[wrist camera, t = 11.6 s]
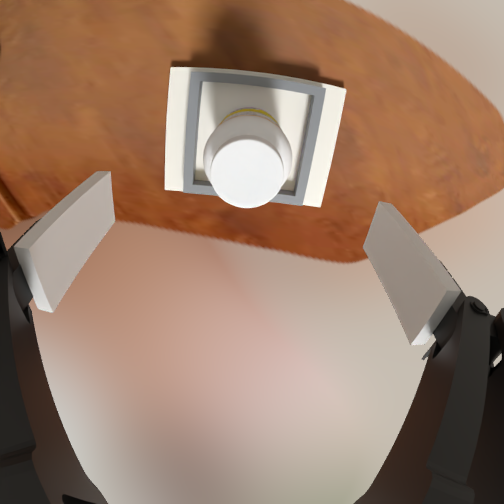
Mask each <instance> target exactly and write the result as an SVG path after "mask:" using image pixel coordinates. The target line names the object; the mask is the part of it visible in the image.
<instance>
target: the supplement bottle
mask: <svg viewBox="0 0 504 504" xmlns="http://www.w3.org/2000/svg"><path fill="white" fill-rule="evenodd" d="M203 165H204V170H205V173H206V175H207V177H208V179H209V181H210V182H211V184H212V186H213V188H214V190H215V192H216V193H217V194H218V195H219V197H220V198H222V199H223V200H224V201H225V202H227V203H229V204H231V205H234V206H237V207H242V208H253V207H258V206H261V205H263V204H265V203H267V202H269V201H270V200H271V199H273V198H274V197H275V196H276V195H277V193H278V192H279V190H280V188H281V186H282V185H283V184H284V183H285V181H286V180H287V178H288V176H289V174H290V171H291V167H292V150H291V146H290V143H289V141H288V139H287V137H286V135H285V134H284V132H283V131H282V129H281V128H280V126H279V124H278V123H277V121H276V120H275V119H274V118H273V117H272V116H271V115H270V114H269V113H267V112H265V111H264V110H261V109H258V108H253V107H244V108H239V109H237V110H234V111H232V112H231V113H229V114H228V115H227V116H226V117H225V118H224V119H223V120H222V121H221V122H220V124H219V125H218V126H217V127H216V129H215V130H214V131H213V132H212V134H211V135H210V137H209V138H208V140H207V142H206V145H205V148H204V152H203Z"/></svg>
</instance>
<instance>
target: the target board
mask: <svg viewBox="0 0 504 504" xmlns="http://www.w3.org/2000/svg"><path fill="white" fill-rule="evenodd" d="M345 94H346V89H344V88H340V87H336V86H332V85H328V84H323V83H319V82H314V81H309V80H304V79H299V78H294V77H288V76H282V75H275V74H269V73H261V72H253V71H244V70H233V69H219V68H199V67H171V70H170V80H169V92H168V106H167V123H166V147H165V190H174V191H183V192H184V193H195V194H206V195H216V196H219V195H218V194H217V193H216V192H215V190H214V188H213V186H212V184H211V182H210V181H209V179H208V177H207V175H206V173H205V170H204V165H203V152H204V148H205V145H206V142H207V140H208V138H209V137H210V135H211V134H212V132H213V131H214V130H215V129H216V127H217V126H218V125H219V124H220V122H221V121H222V120H223V119H224V118H225V117H226V116H227V115H228V114H229V113H231V112H232V111H234V110H237V109H239V108H244V107H253V108H258V109H261V110H264V111H265V112H267V113H269V114H270V115H271V116H272V117H273V118H274V119H275V120H276V121H277V123H278V124H279V126H280V128H281V129H282V131H283V132H284V134H285V135H286V137H287V139H288V141H289V143H290V146H291V150H292V167H291V171H290V174H289V176H288V178H287V180H286V181H285V183H284V184H283V185H282V186H281V188H280V190H279V192H278V193H277V195H276V196H275V197H274V198H273V199H271V200H270V201H269V202H277V203H285V204H292V205H300V206H303V205H308V206H315V207H321V203H322V199H323V195H324V191H325V187H326V183H327V178H328V174H329V170H330V166H331V161H332V157H333V152H334V148H335V143H336V139H337V134H338V129H339V124H340V120H341V115H342V110H343V104H344V99H345Z"/></svg>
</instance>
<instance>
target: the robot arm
mask: <svg viewBox="0 0 504 504" xmlns="http://www.w3.org/2000/svg"><path fill="white" fill-rule="evenodd" d="M114 222H115V216H114V207H113V196H112V185H111V171H97V172H96V173H94V174H93V175H92V176H90V177H89V178H88V179H87V180H85V181H84V182H83V183H82V184H80V185H79V186H78V187H77V188H76V189H74V190H73V191H72V192H71V193H70V194H68V195H67V196H66V197H65V198H64V199H63V200H61V201H60V202H59V203H58V204H57V205H56V206H55V207H53V208H52V209H51V210H50V211H49V212H48V213H47V214H46V215H45V216H44V217H43V218H41V219H39V220H38V221H36V222H35V223H34V224H33V225H32V226H31V227H30V228H29V230H27V231H26V232H25V233H24V235H22V236H21V237H20V238H19V239H18V240H17V241H16V242H15V243H14V244H13V245H12V246H11V248H10V249H9V250H8V251H7V250H6V247H5V244H4V242H3V238H2V235H1V232H0V504H108V503H107V501H106V500H105V498H104V497H103V495H102V494H101V492H100V491H99V490H98V488H97V487H96V486H95V485H94V484H93V483H92V482H91V481H90V479H89V478H88V477H87V475H86V474H85V472H84V470H83V468H82V466H81V464H80V462H79V460H78V458H77V456H76V454H75V452H74V450H73V448H72V446H71V443H70V441H69V439H68V436H67V434H66V432H65V429H64V427H63V424H62V422H61V419H60V417H59V414H58V411H57V408H56V406H55V403H54V400H53V397H52V394H51V391H50V388H49V384H48V382H47V378H46V374H45V371H44V367H43V363H42V359H41V355H40V351H39V347H38V343H37V338H36V333H35V328H34V322H33V317H32V311H31V309H30V307H29V302H30V301H31V299H32V298H34V301H35V302H36V305H37V307H38V309H40V310H44V311H48V312H51V313H53V312H54V311H55V309H56V307H57V306H58V304H59V302H60V301H61V299H62V297H63V296H64V294H65V293H66V291H67V289H68V288H69V286H70V285H71V283H72V282H73V280H74V278H75V277H76V275H77V274H78V272H79V271H80V269H81V268H82V266H83V265H84V264H85V262H86V261H87V259H88V258H89V256H90V255H91V253H92V252H93V251H94V249H95V248H96V246H97V245H98V244H99V242H100V241H101V240H102V238H103V237H104V236H105V234H106V233H107V231H108V230H109V229H110V227H111V226H112V225H113V224H114ZM363 249H364V250H365V252H366V254H367V256H368V258H369V260H370V261H371V263H372V265H373V267H374V269H375V271H376V273H377V275H378V277H379V279H380V281H381V282H382V284H383V287H384V289H385V291H386V293H387V295H388V297H389V299H390V301H391V303H392V305H393V307H394V309H395V311H396V313H397V315H398V318H399V320H400V322H401V325H402V327H403V329H404V331H405V334H406V336H407V338H408V340H409V343H410V345H419V344H425V343H426V342H427V341H428V339H429V338H430V337H431V335H432V334H434V336H435V338H436V341H435V342H434V344H433V345H432V346H431V347H430V349H429V350H428V351H427V352H426V354H425V355H424V356H423V358H422V359H423V360H424V359H425V358H426V357H428V360H427V363H426V366H425V369H424V372H423V375H422V378H421V381H420V384H419V386H418V389H417V392H416V395H415V397H414V400H413V402H412V405H411V407H410V409H409V412H408V414H407V416H406V419H405V421H404V424H403V426H402V428H401V430H400V432H399V434H398V436H397V439H396V441H395V443H394V445H393V447H392V449H391V451H390V452H389V455H388V456H387V458H386V460H385V462H384V464H383V466H382V467H381V469H380V471H379V473H378V474H377V476H376V478H375V480H374V481H373V483H372V485H371V486H370V488H369V489H368V490H367V492H366V493H365V494H364V495H363V496H362V497H360V498H359V499H358V500H357V501H356V502H355V503H354V504H504V308H502V309H501V310H500V312H499V314H498V315H497V316H496V317H495V316H492V315H490V314H489V311H488V309H487V307H486V306H485V305H484V304H483V303H482V302H481V301H480V300H478V299H477V298H474V297H472V296H468V297H466V296H465V294H464V293H463V291H462V290H461V288H460V287H459V286H458V284H457V283H456V281H455V280H454V279H453V278H452V276H451V274H450V273H449V272H447V269H446V268H445V266H444V265H443V264H442V263H441V262H440V261H439V260H438V259H437V257H436V256H435V255H434V253H433V252H432V251H431V250H430V249H429V247H428V246H427V245H426V243H425V242H424V241H423V240H422V238H421V237H420V236H419V235H418V234H417V232H416V231H415V230H414V229H413V228H412V226H411V225H410V224H409V223H408V222H407V221H406V219H405V218H404V217H403V216H402V215H401V214H400V213H399V212H398V210H397V209H396V208H395V207H394V206H393V205H392V204H390V203H385V202H380V201H379V203H378V206H377V209H376V212H375V215H374V218H373V220H372V223H371V226H370V229H369V232H368V235H367V237H366V240H365V243H364V245H363ZM501 353H502V360H501V361H500V362H499V363H498V364H497V365H496V366H495V367H494V364H493V362H494V361H495V359H496V358H497V357H498V356H499V355H500V354H501Z"/></svg>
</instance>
